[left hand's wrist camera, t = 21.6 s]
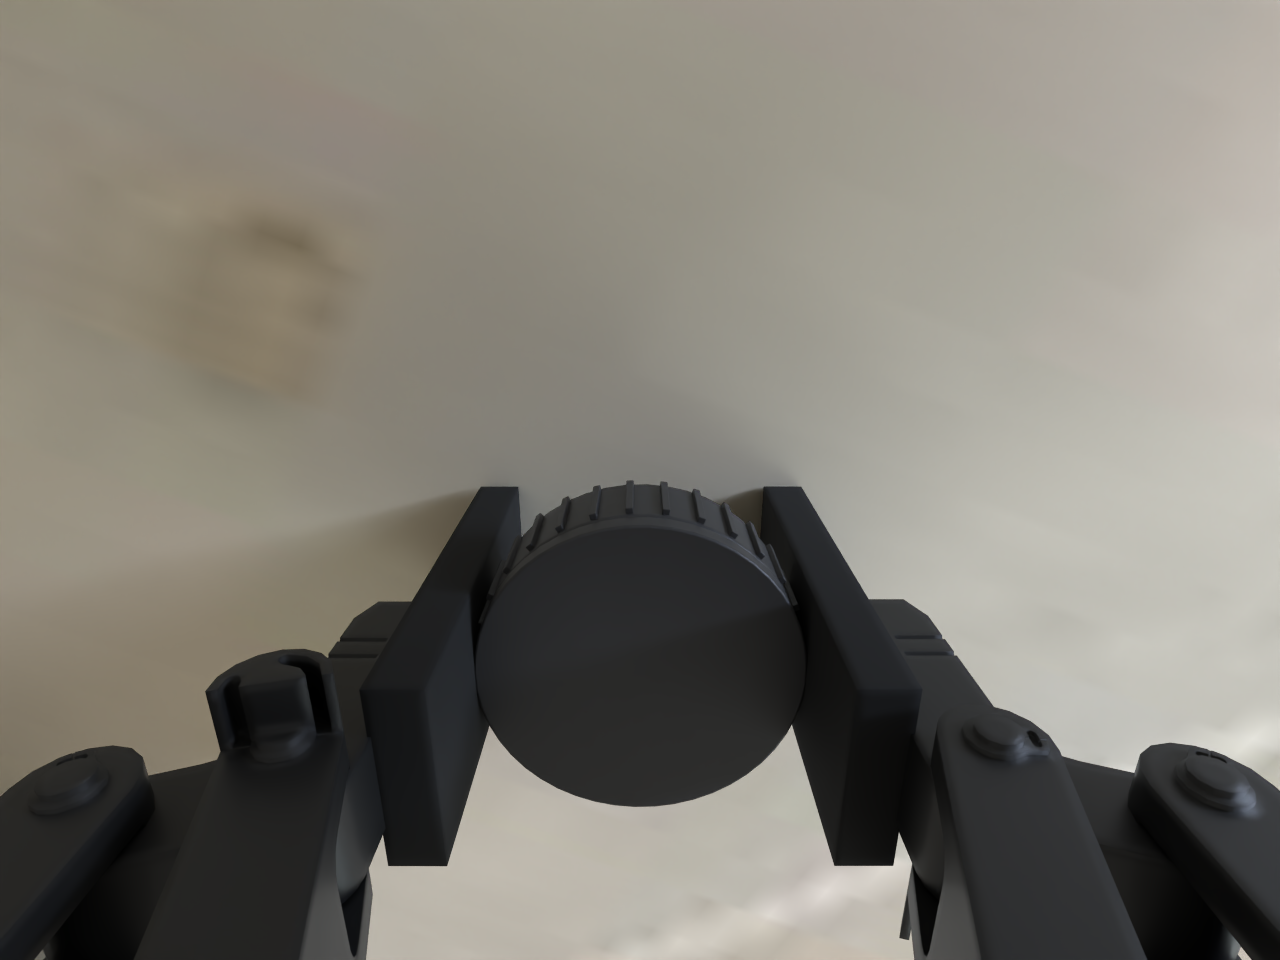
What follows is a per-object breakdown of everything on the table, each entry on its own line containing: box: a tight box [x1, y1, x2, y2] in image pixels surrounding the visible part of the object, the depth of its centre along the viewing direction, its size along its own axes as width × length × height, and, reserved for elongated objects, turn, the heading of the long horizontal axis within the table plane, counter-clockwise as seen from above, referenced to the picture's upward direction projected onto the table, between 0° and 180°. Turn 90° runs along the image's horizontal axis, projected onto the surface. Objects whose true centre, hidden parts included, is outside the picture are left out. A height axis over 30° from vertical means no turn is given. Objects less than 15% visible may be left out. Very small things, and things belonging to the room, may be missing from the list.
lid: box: [474, 481, 807, 807], centre depth 11 cm, size 5×5×2 cm
